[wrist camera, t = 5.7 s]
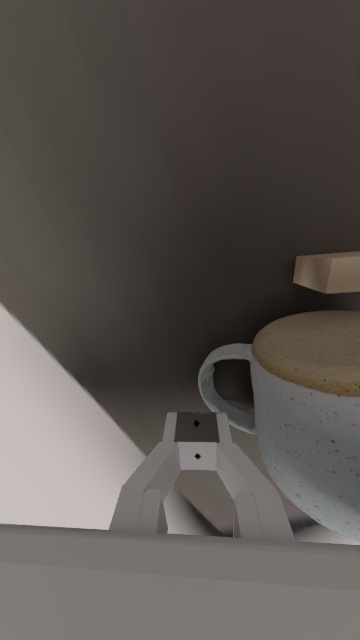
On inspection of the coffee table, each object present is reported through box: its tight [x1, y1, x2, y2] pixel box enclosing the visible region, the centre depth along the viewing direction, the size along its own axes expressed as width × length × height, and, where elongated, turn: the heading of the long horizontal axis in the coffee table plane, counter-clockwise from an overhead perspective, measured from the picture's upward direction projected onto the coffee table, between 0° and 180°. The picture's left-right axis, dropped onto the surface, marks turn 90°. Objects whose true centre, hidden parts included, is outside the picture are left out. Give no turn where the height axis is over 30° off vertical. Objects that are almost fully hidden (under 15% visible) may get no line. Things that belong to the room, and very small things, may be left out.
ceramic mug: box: [198, 310, 360, 542], centre depth 10 cm, size 11×8×8 cm
